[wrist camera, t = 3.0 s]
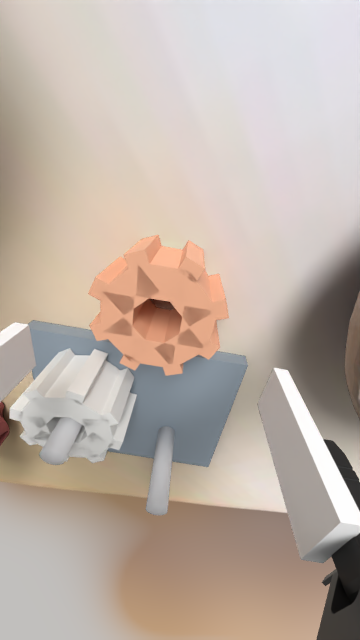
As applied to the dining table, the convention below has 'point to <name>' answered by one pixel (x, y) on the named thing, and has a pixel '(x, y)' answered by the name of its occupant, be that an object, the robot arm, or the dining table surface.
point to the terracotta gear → (156, 323)
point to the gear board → (151, 406)
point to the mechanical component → (3, 425)
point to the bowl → (353, 357)
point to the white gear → (78, 403)
